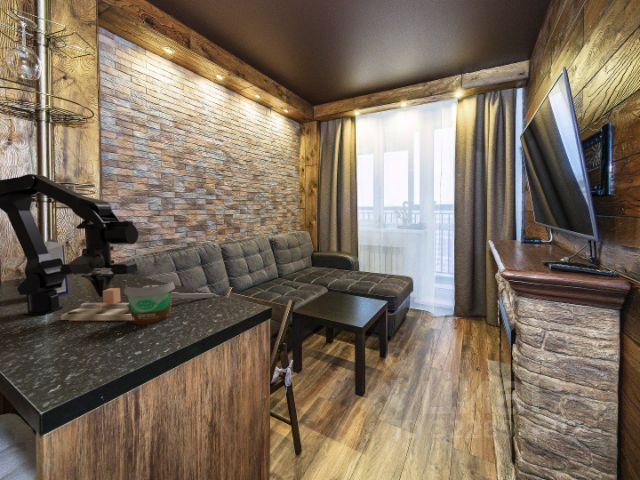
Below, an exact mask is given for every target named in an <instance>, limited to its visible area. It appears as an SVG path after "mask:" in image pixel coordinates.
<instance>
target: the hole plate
mask: <svg viewBox="0 0 640 480" xmlns="http://www.w3.org/2000/svg"><path fill="white" fill-rule="evenodd" d="M100 303H101V302H84V303H81V304H80V306H79V307H77V308H76V309H72V310H70V311H68V312H65V313H62V314H60V320H69V321H132V317H131V311H130V306H129V302H118V303H116V304H106V305H104V306H101V311H99V307H97V305H98V304H100Z"/></svg>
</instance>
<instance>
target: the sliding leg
mask: <svg viewBox="0 0 640 480" xmlns="http://www.w3.org/2000/svg"><path fill="white" fill-rule="evenodd" d="M121 300H122V299H121V288H120V287H111V288H109V287H108V289H106V290H104V291H103V297H102V301H103V302H99V303H100V304H98V305H97V307H99V311H101V306H104V305H106V304H116V303H121Z"/></svg>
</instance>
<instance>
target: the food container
mask: <svg viewBox="0 0 640 480" xmlns="http://www.w3.org/2000/svg"><path fill="white" fill-rule="evenodd" d="M175 289H176V286H175V283H174V282H173V280H172V281H171V282H169V283H165V284H146V285H142V286H137V287H130V286H127V284H126V285H125V287H124V292H123V293H124V295H126V296H127V299H128V303H129V306H130V311H131V317H132V320H131V321H132V323H134V324H137V325H152V324H156V323H161V322H164V321H165V320H168V319H169V318H170V317H171V310H172V301H171V299H172V292H173V290H175Z"/></svg>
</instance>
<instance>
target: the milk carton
mask: <svg viewBox="0 0 640 480" xmlns="http://www.w3.org/2000/svg"><path fill="white" fill-rule="evenodd" d="M43 241H44V240H43ZM58 241H59V240H58V239H51V238H47V240H45V241H44V243H45V246H46V248H47V250H48V253H49V254H50V256H52V257H53V258H55V259H56V258H61V259H62V262H63V264H67V260H66V247H65V245H66V244H64V243H59V242H58ZM55 290H57V295H58V297H60V296H64V295H67V294H69V284H68V275H66V277H65V279H64V280H63V284H62V287H61V288H57V289H55Z"/></svg>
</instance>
